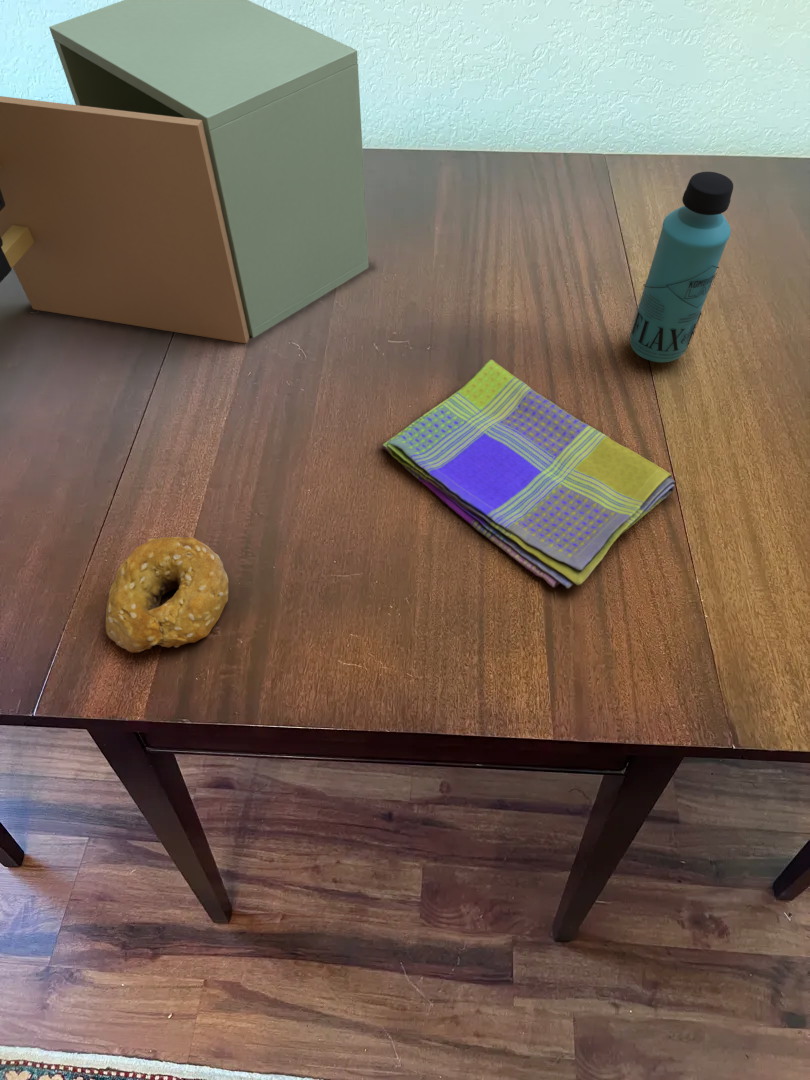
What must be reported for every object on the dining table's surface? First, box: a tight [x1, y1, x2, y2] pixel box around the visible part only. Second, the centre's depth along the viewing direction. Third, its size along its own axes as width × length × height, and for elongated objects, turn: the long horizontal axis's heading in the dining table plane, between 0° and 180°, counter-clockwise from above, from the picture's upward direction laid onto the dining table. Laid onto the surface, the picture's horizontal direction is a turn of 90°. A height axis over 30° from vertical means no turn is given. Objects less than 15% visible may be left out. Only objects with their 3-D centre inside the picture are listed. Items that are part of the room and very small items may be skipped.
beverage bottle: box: [628, 171, 734, 363], centre depth 78 cm, size 6×7×20 cm
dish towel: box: [381, 359, 676, 589], centre depth 75 cm, size 18×24×3 cm
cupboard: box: [48, 0, 370, 339], centre depth 87 cm, size 18×26×24 cm
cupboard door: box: [0, 95, 250, 344], centre depth 77 cm, size 8×26×24 cm, turn 76°
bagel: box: [105, 536, 229, 653], centre depth 66 cm, size 10×11×5 cm
